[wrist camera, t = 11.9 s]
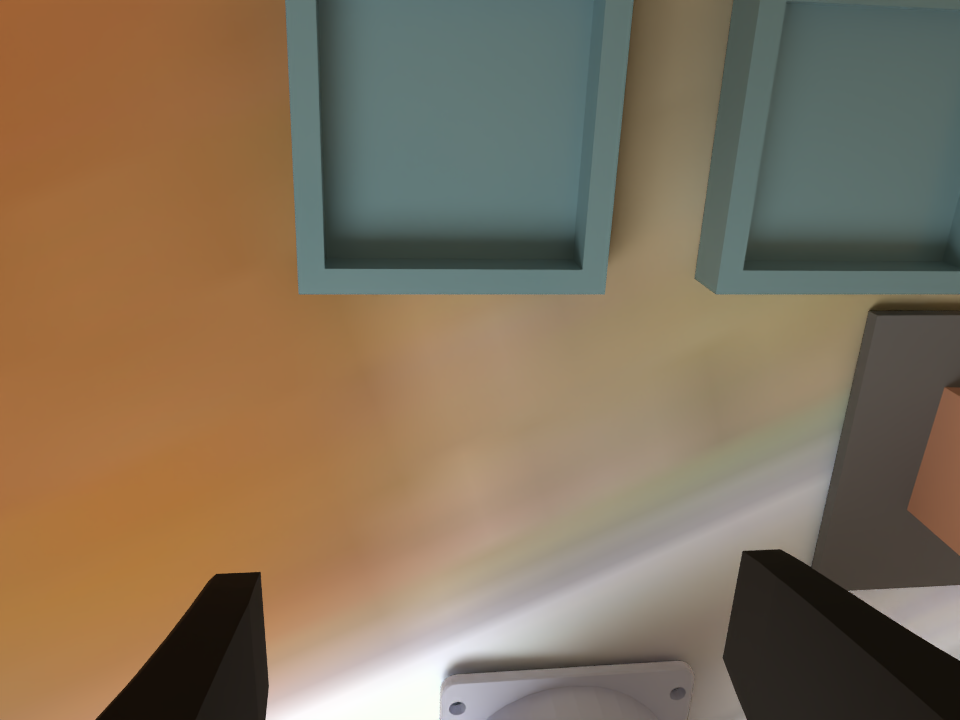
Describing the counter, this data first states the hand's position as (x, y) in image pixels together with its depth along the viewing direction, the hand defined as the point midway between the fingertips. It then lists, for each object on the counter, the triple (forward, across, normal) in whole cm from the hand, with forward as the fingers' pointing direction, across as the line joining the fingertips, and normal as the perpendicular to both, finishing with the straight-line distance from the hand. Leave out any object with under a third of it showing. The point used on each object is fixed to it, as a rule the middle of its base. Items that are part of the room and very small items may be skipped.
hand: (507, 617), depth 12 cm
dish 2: (+10, -10, -6) cm, 15 cm away
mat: (+10, -16, +3) cm, 19 cm away
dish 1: (+10, 0, -6) cm, 12 cm away
